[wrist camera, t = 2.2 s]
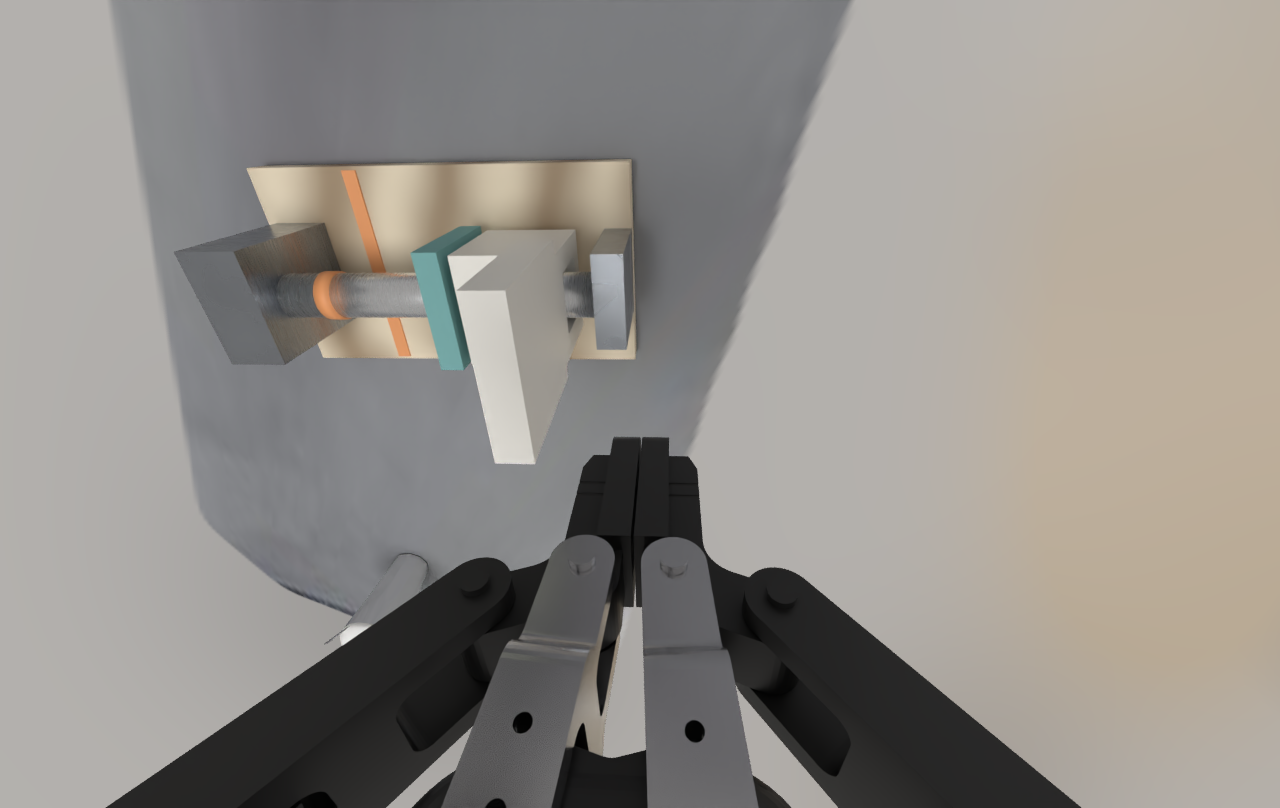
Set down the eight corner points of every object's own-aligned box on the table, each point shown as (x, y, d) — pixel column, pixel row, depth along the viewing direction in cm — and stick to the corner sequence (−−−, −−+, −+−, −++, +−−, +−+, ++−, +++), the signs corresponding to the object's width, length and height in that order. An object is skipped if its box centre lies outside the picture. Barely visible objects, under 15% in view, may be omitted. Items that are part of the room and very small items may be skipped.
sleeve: (574, 216, 26) (505, 290, 15) (584, 335, 30) (535, 464, 19) (484, 217, 26) (353, 291, 15) (505, 334, 30) (411, 461, 19)
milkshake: (407, 537, 45) (345, 636, 36) (444, 571, 47) (395, 672, 39) (373, 551, 46) (306, 650, 38) (411, 584, 49) (356, 684, 40)
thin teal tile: (480, 226, 27) (435, 252, 22) (499, 326, 30) (463, 370, 25) (459, 226, 27) (410, 252, 22) (480, 326, 30) (441, 369, 25)
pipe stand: (631, 159, 27) (617, 175, 20) (636, 349, 33) (627, 415, 26) (265, 165, 28) (127, 183, 21) (336, 348, 35) (248, 410, 27)
